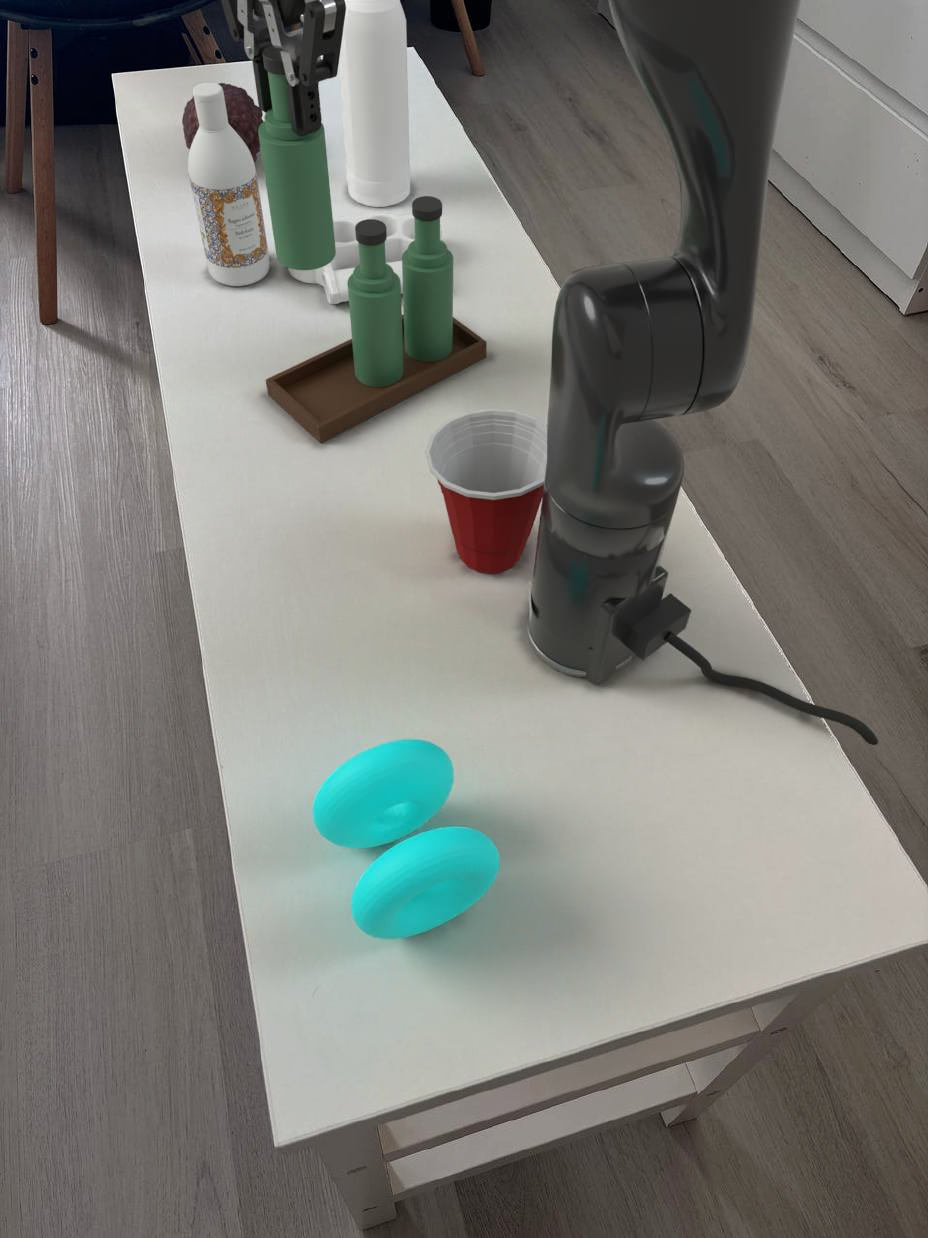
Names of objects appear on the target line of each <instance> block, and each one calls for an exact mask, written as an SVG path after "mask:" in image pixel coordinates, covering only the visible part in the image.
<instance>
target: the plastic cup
mask: <svg viewBox="0 0 928 1238" xmlns="http://www.w3.org/2000/svg"><path fill="white" fill-rule="evenodd" d="M424 454H425V459H426V462H427V466H428V470H429V472H430V474H431V475H432V476H433V477H435V479H436V481H437V483H438V485H439V487H440V490H441V494H442V496H443V500H444V505H445V508H446V513H447V518H448V521H449V526H450V530H451V533H452V536H453V540H454V545H455V549H456V553H457V555H458V556H459V559H460V560H461V561H462V563H463V564H464V565H465V566H466V567H467V568H470V569H471V570H473V571H475V572H477V573H482V574H488V575H493V574H499V573H503V572H505V571H507V570H510V569H511V568H513V567H515V565H516V564H517V563H518V561H520V558H521V557H522V556H523V554H524V550H525V548H526V545H527V542H528V538H529V537H530V536H531V533H532V530H533V527H534V524H535V521H536V518H537V515H538V512H539V509H540V507H541V504H542V497H543V489H544V480H545V473H546V464H547V423H546V422H544V421H543V420H541V419H540V418H538V417H535V416H533V415H530V414H527V413H524V412H523V411H519V410H514V409H505V408H493V407H491V408H486V409H485V408H484V409H479V410H472V411H467V412H464V413H462V414H460V415H459V414H458V416H455V417H453V418H450V419H448V420H446V421H444V422H443V423H442V424H441V425H440V426H439V427H438V428H437V429H435V431H433V432H432V433H431V434H430V436H429V439H428V442H427V445H426V447H425V449H424Z"/></svg>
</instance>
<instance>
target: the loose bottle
mask: <svg viewBox="0 0 928 1238" xmlns="http://www.w3.org/2000/svg"><path fill="white" fill-rule="evenodd" d="M295 55H296V59H297V64H300V55H301V47H300V46H297V47H296V48H295ZM263 61H264V68H265V70H266V71H268V78H269V85H270V93H271V100H272V109H270V110H268V111H267V112H266V113H265V114H264V116H263V117H264V120H263V121H264V122H263V123H262V124H261V125H260V127H259V130H258V133H259V140H260V153H261V160H262V167H263V173H264V180H265V181H264V182H265V186H266V188H265V189H266V195H267V200H268V201H267V202H268V208H269V216H270V221H271V227H272V235H273V241H274V249H275V255H276V259H277V261H278V262H279V263H280V264H281V265H282V266H284V267H286V268H287V269H288V268H291V269H295V270H313V269H318V268H321V267H323V266H325V265H327V264H329V263H330V262H331V261H332V260H333V259H334V257H335V255H336V249H335V238H334V227H333V219H334V217H333V207H332V196H331V186H330V176H329V163H328V154H327V153H328V152H327V141H326V133H325V125H324V124H323V122H321V128H320V129H319V130H318V131H317V132H314V133H311V134H309V135H306V136H303V137H300V136H298V135H297V134H296V133H294V132H293V131H292V127H291V119H290V110H289V102H288V94H287V85H286V83H288V80H287V78H286V74H285V69H284V65H283V61H282V57H281V53H280V51H279V50H278V49H276V48H275V47H274V46H273V45H271V46H269V47H267V48H265V49H264V50H263Z"/></svg>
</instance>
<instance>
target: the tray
mask: <svg viewBox="0 0 928 1238" xmlns="http://www.w3.org/2000/svg"><path fill="white" fill-rule="evenodd" d="M402 337H403V365H404V373H403V376H402V378H401V379H400V380H399V381H398V382H397V383H395V384H393V385H391V386H387V387H370V386H367V385H364V384H363V383H361V382H360V381H359V380H358V379H357V378H356V376H355V368H354V356H353V344H352V338H350V339H348V340H346V341H344V342H341V343H340V344H338V345H336V346H334V347H332V348H329V349H327V350H325V351H322V352H320V353H319V354H317V355H315V356H312V357H310V358H308V359H306V360H304V361H302V362H300V363H297V364H296V365H293V366H291V367H289V368H287V369H284V370H283V371H281V372H279V373H276V374H274V375H272V376H270V377H268V378H266V379H265V385H266V391H267V395H268V397H269V398H270V399H272V400H273V402H275V403H276V404H277V405H278V406H279V407H280V408H281V409H283V410H284V411H285V413H287V414H288V415H289V416H290V417H291V419H293V420H294V421H296V422H297V424H298V425H300V426H301V427H302V428H303V429H304V430H305V431H306V432H308V434H310V436H312V438H314V439H315V440H316V441H317V442H318V443H320V444H323V443H324V442H326V441H329V440H330V439H332V438H334V437H336V436H338V435H340V434H342V433H344V432H346V431H347V430H349V429H352V428H353V427H356V426H357V425H359V424H361V423H363V422H365V421H368V419H371V418H373V417H375V416H376V415H379V414H380V413H382V412H384V411H386V410H388V409H390V408H391V407H394V406H396V405H398V404H399V403H401V402H403V401H405V400H407V399H409V398H411V397H413V396H415V395H417V394H419V393H421V392H423V391H424V390H427V389H428V388H430V387H432V386H434V385H436V384H438V383H440V382H442V381H444V380H446V379H448V378H450V377H452V376H453V375H455V374H458V373H459V372H461V371H463V370H465V369H467V368H469V367H471V366H473V365H474V364H476V363H478V362H480V361H483V360H484V359H486V358H487V348H488V342H487V340H485V339H484V338H482V337H481V336H480V335H478V334H477V333H475V332H474V331H473V330H472V329H470V328H469V327H467V326H466V325H464V324H463V323H462V322H461V321H459V320H458V319H456V318H455V317H454V316H453V333H452V351H451V353H450V354H449V355H448V356H447V357H446V358H444V359H442V360H440V361H436V362H421V361H418V360H415V359H413V358H411V357H410V356H409V355H408V354H407V353H406V350H405V337H404V313H403V314H402Z"/></svg>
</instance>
